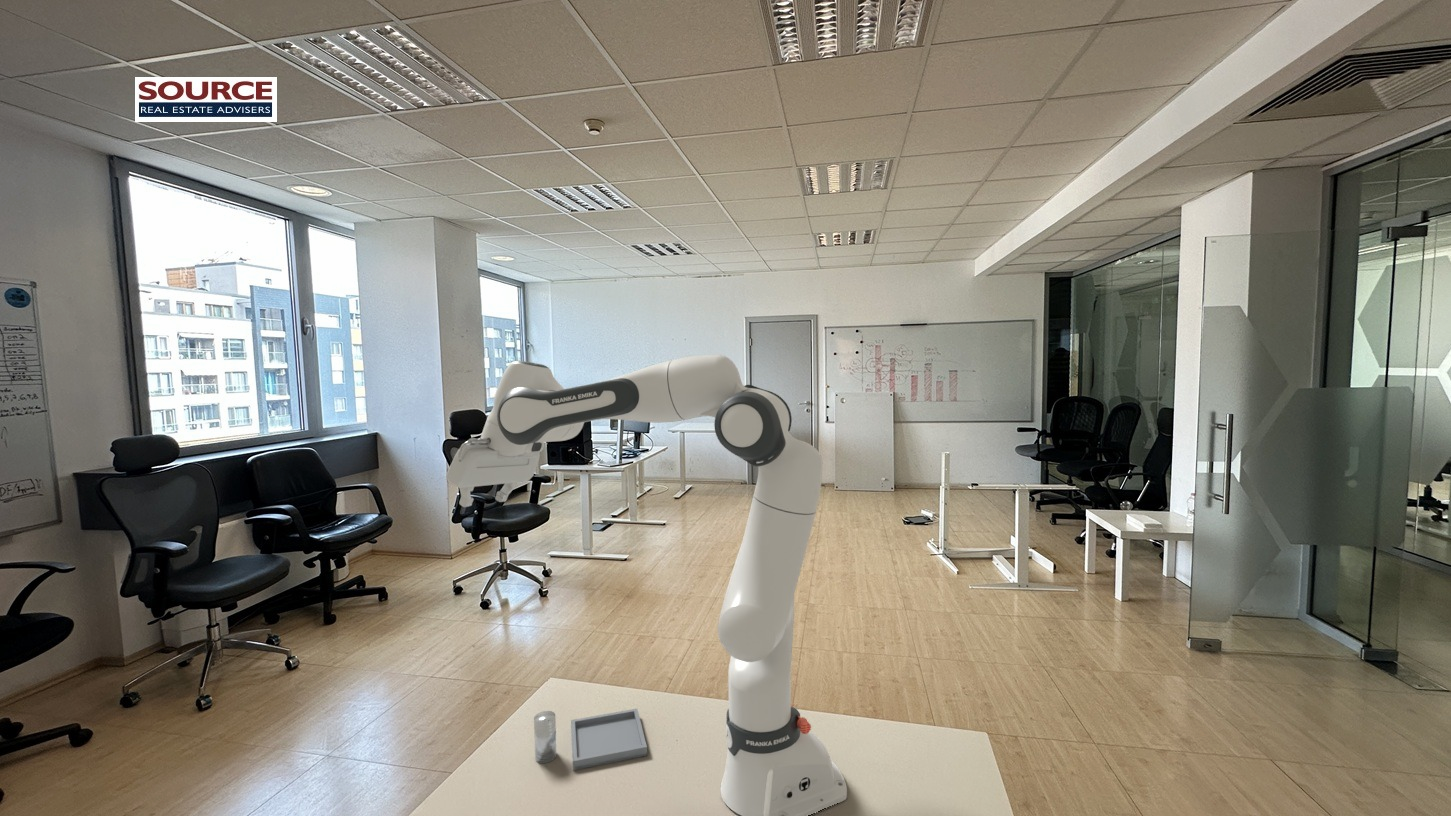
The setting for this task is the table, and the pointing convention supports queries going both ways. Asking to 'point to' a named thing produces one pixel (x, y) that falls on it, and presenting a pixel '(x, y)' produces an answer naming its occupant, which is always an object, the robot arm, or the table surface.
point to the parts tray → (607, 739)
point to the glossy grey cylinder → (545, 736)
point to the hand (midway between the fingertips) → (483, 503)
